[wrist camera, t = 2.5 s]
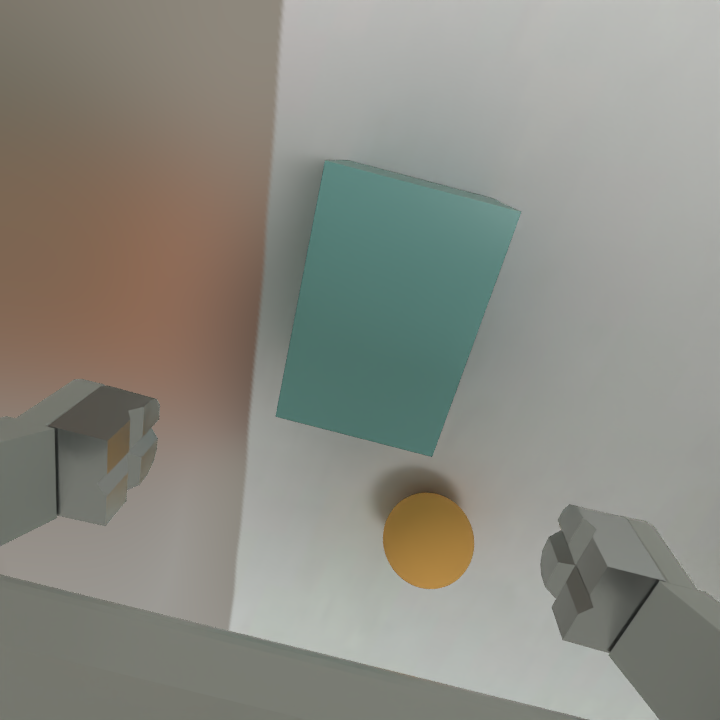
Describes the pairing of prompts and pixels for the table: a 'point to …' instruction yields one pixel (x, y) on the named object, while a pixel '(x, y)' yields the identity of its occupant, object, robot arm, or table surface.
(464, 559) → the ball
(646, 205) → the table surface
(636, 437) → the table surface
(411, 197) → the teal rectangular box
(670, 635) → the robot arm
